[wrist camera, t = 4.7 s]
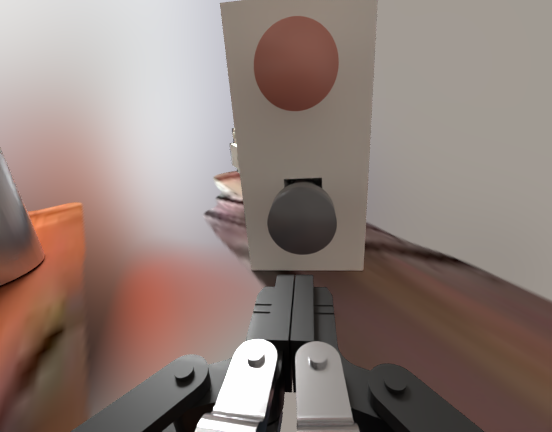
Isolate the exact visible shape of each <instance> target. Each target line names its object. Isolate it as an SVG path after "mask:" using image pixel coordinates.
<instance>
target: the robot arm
mask: <svg viewBox="0 0 552 432" xmlns="http://www.w3.org/2000/svg"><path fill="white" fill-rule="evenodd" d="M44 257H45V254H44V251H43V249H42V246H41V244H40V242H39V239H38V237H37V234H36V232H35V229H34V227H33V225H32V222H31V219H30V217H29V215H28V212H27V210H26V207H25V205H24V203H23V201H22V198H21V196H20V193H19V191H18V188H17V186H16V184H15V181H14V179H13V177H12V174H11V172H10V169H9V167H8V165H7V162H6V160H5V158H4V155H3V153H2V150H1V148H0V285H3V284H5V283H7V282H10V281H12V280H14V279H16V278H18V277H20V276H22V275H24V274H26V273H27V272H29V271H30V270H32V269H33V268H35V267H36V266H37V265H38V264H40V263H41V262H42V260H43V259H44ZM292 380H293V389H294V392H296V399H297V432H484V431H483V430H482V429H480V428H479V427H478V426H477V425H475V424H474V423H473V422H472V421H470V420H469V419H468V418H467V417H465V416H464V415H463V414H462V413H460V412H459V411H458V410H457V409H455V408H454V407H453V406H452V405H451V404H449V403H448V402H447V401H446V400H444V399H443V398H442V397H441V396H439V395H438V394H437V393H436V392H434V391H433V390H432V389H431V388H429V387H428V386H427V385H426V384H424V383H423V382H422V381H421V380H420V379H418V378H417V377H416V376H415V375H413V374H412V373H411V372H409V371H408V370H407V369H405V368H403V367H401V366H398V365H395V364H380V365H377V366H376V367H374V368H373V369H372V370H371V371H370V370H367V369H364V368H361V367H358V366H355V365H353V364H352V363H350V362H349V361H347V360H346V359H345V358H344V357H343V356H342V355H341V353H340V351H339V349H338V345H337V336H336V326H335V317H334V307H333V298H332V294H331V293H330V292H329V290H328V289H327V288H326V287H313V275H296V278H295V275H277V278H276V284H275V287H264V288H263V289H262V290H261V291H260V293H259V294H258V296H257V300H256V304H255V307H254V311H253V315H252V318H251V322H250V326H249V330H248V334H247V337H246V341H245V343H244V344H242V345H241V346H240V347H239V348H238V349H237V350H236V352H235V354H234V356H233V357H232V358H230V359H228V360H225V361H222V362H217V363H213V364H209V365H208V364H207V362H206V360H205V359H204V358H203V357H201V356H198V355H186V356H182V357H179V358H178V359H176V360H174V361H173V362H171V363H170V364H168V365H167V366H165V367H164V368H162V369H161V370H160V371H158V372H157V373H155V374H154V375H152V376H151V377H149V378H148V379H146V380H145V381H144V382H142V383H141V384H139V385H138V386H136V387H135V388H134V389H132V390H130V391H129V392H128V393H126V394H125V395H123V396H122V397H121V398H119V399H117V400H116V401H115V402H113V403H112V404H110V405H109V406H107V407H106V408H104V409H103V410H102V411H100V412H99V413H97V414H96V415H94V416H93V417H91V418H90V419H88V420H87V421H86V422H84V423H83V424H81V425H80V426H78V427H77V428H75V429H74V430H72V431H71V432H280V429H281V423H282V414H283V413H282V409H283V405H284V394H285V392H292Z"/></svg>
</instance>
